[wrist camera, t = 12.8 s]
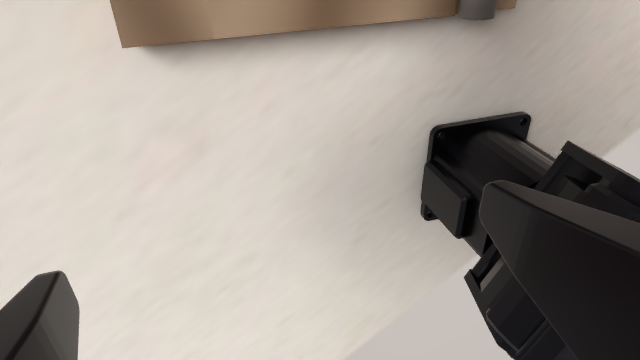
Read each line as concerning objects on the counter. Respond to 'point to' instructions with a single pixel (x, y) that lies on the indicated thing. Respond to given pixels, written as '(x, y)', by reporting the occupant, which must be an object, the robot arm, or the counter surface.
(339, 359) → the counter surface
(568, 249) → the robot arm
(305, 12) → the shelf frame
